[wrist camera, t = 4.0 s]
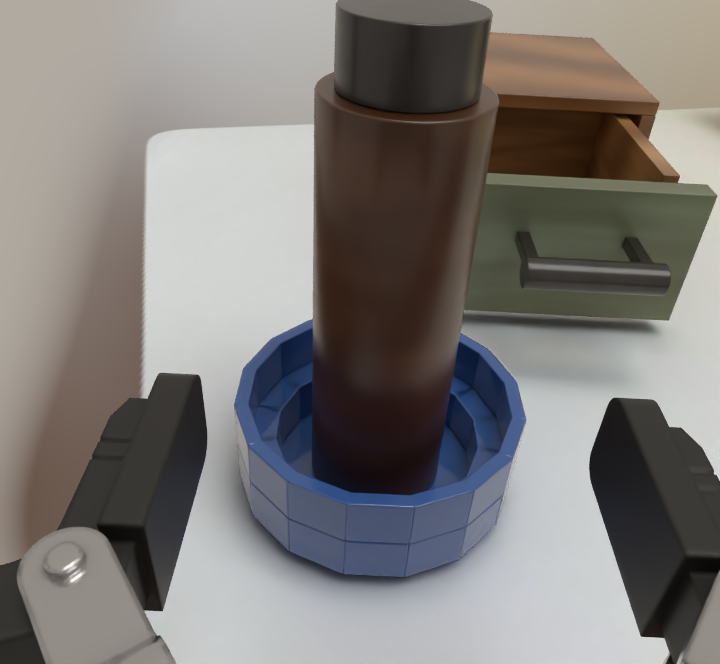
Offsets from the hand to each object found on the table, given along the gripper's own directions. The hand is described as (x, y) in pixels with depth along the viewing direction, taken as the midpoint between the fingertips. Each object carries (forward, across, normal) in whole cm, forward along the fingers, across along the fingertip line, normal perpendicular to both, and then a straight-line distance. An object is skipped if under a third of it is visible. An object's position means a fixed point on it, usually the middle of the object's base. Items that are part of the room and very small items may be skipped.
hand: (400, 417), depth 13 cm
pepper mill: (+8, 0, +10) cm, 13 cm away
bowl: (+8, 0, +11) cm, 13 cm away
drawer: (+23, -9, +10) cm, 26 cm away
